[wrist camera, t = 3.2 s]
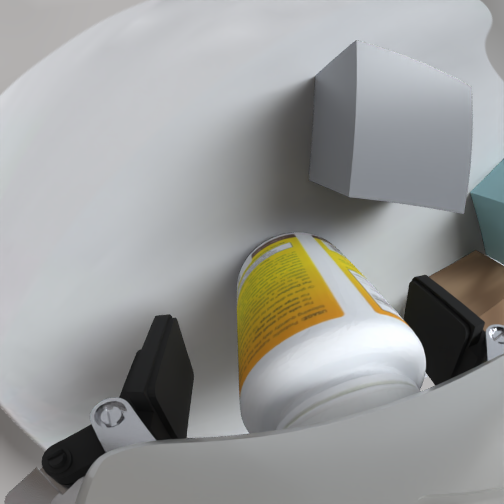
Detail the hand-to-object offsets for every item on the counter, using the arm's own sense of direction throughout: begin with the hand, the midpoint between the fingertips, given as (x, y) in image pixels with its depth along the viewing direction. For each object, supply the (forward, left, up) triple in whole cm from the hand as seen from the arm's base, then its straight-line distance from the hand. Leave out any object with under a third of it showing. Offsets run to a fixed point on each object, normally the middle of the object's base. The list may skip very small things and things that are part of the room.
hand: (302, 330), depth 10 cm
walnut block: (-11, +3, -4) cm, 12 cm away
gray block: (-4, -7, -4) cm, 9 cm away
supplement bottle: (0, 0, -4) cm, 4 cm away
